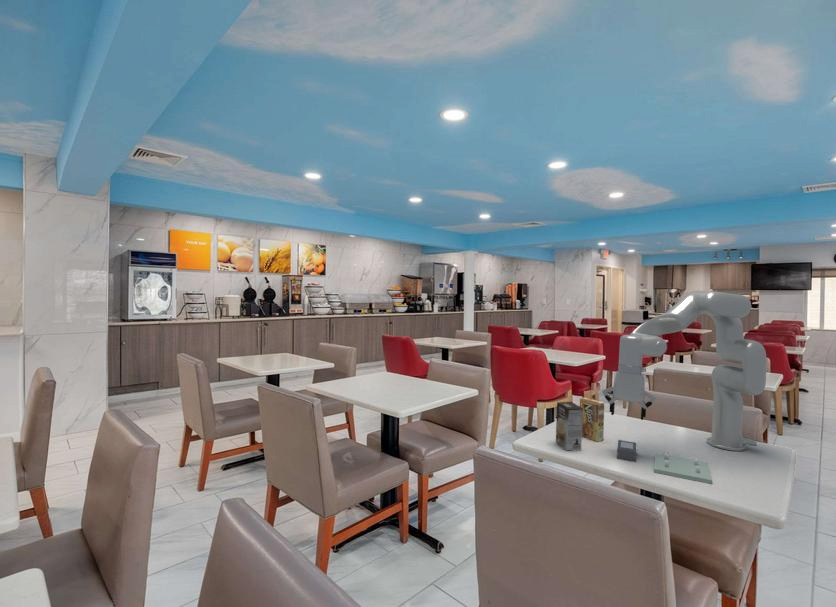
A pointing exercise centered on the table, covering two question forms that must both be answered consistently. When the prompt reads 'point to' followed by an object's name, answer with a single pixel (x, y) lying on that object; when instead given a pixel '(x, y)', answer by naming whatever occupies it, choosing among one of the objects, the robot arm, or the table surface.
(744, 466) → the table surface
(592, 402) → the candy box
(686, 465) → the pin tray
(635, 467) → the table surface
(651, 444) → the table surface
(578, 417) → the coffee box
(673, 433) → the table surface
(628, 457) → the block
